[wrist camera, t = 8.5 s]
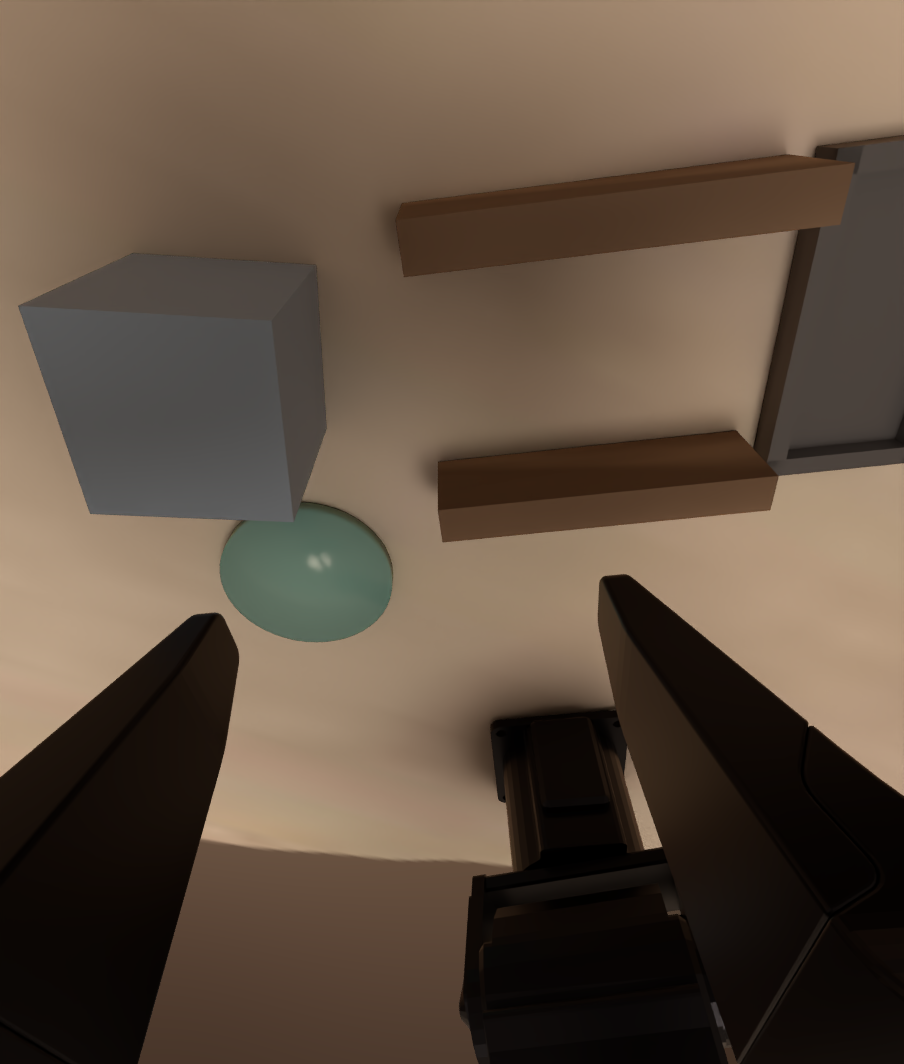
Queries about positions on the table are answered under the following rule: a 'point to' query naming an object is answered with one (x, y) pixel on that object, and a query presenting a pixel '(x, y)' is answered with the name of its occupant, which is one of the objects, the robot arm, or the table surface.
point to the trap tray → (843, 329)
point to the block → (186, 384)
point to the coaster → (308, 574)
